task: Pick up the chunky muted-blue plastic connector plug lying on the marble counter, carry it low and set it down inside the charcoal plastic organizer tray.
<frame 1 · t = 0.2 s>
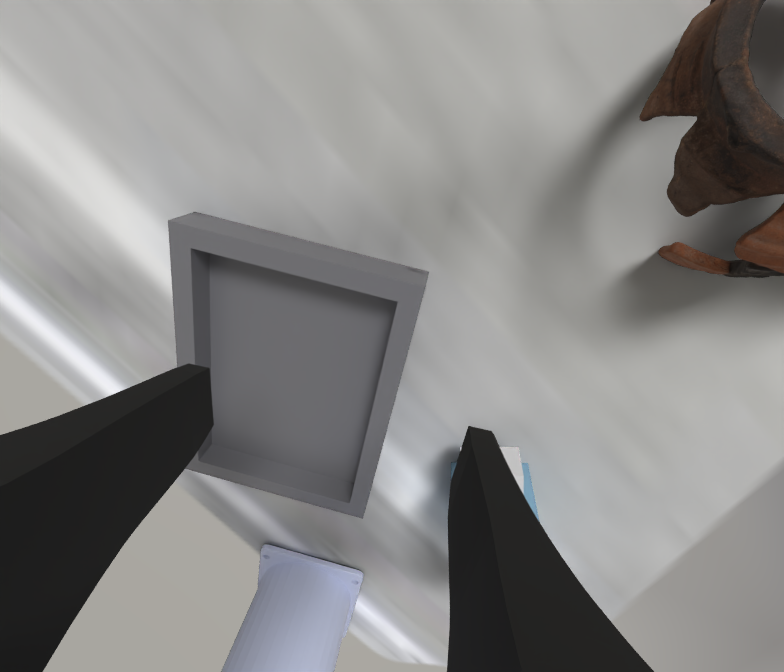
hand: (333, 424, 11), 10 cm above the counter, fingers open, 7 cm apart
connector: (490, 493, 25), on the counter
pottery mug: (775, 142, 15), on the counter
tray: (295, 373, 23), on the counter
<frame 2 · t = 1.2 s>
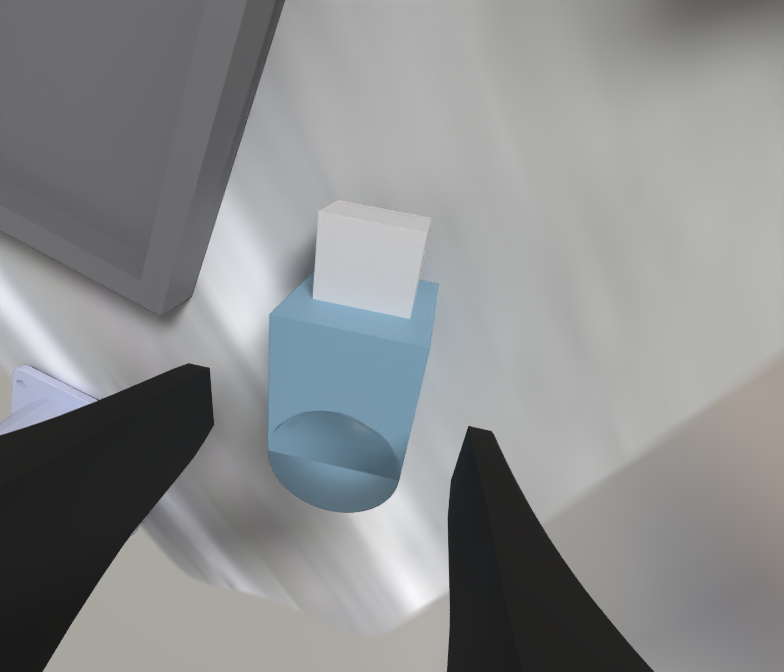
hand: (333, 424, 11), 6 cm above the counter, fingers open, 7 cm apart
connector: (372, 330, 16), on the counter
tray: (83, 6, 13), on the counter
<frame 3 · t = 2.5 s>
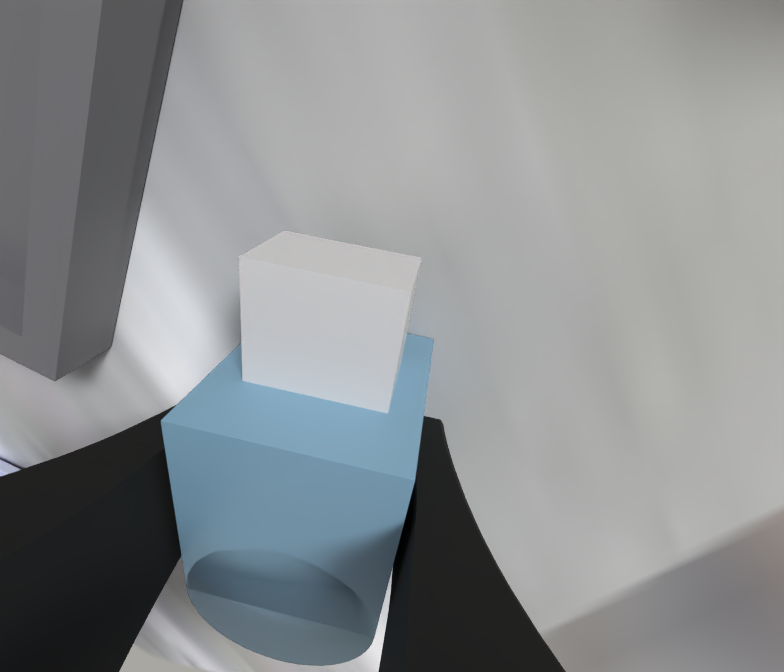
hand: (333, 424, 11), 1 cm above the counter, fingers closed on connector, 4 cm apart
connector: (346, 394, 12), on the counter, touching gripper
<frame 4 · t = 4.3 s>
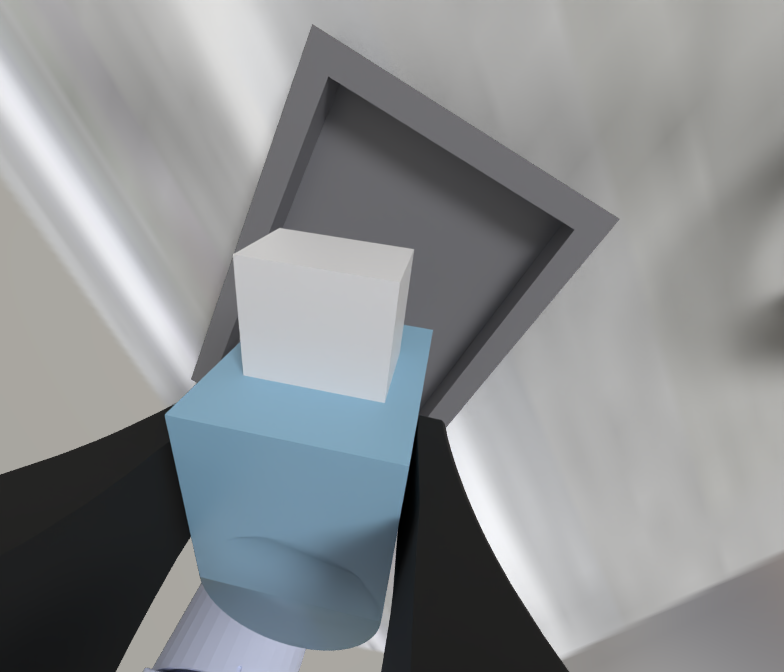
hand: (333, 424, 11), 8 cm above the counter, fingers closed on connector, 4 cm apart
connector: (350, 387, 12), point 7 cm above the counter, touching gripper
tray: (374, 296, 18), on the counter
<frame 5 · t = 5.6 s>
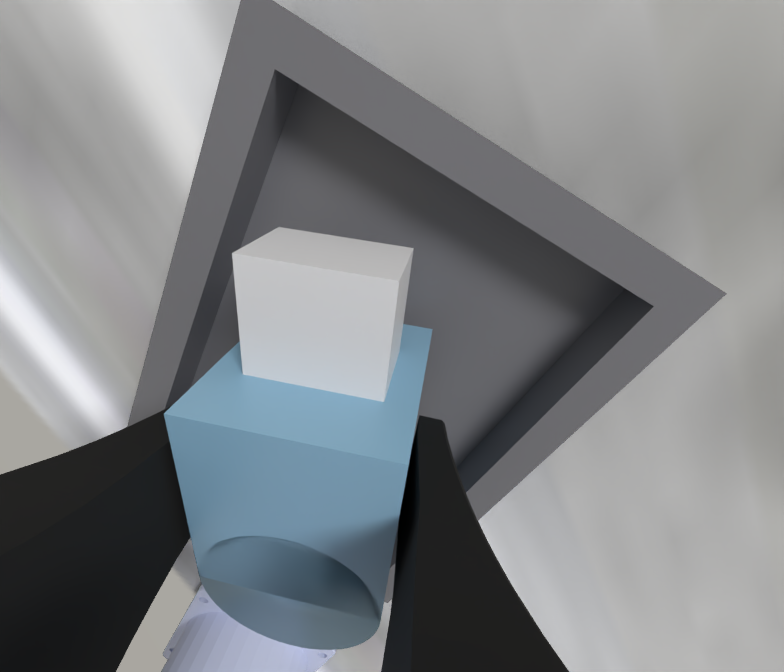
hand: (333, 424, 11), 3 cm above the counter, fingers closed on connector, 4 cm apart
connector: (349, 387, 12), point 1 cm above the counter, touching gripper
tray: (357, 369, 14), on the counter
when the fingers open (3 cm above the counter, at t = 6.3 s): connector stays where it is, resting on tray.
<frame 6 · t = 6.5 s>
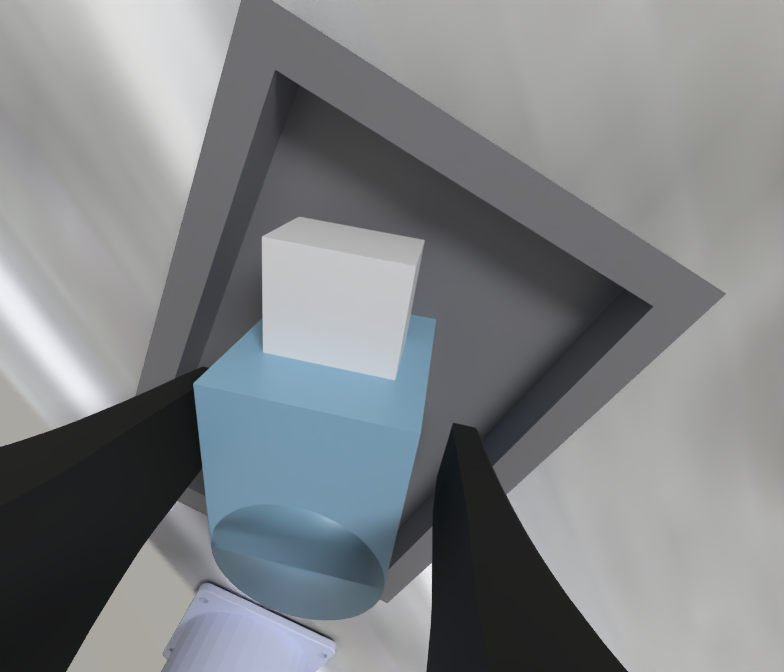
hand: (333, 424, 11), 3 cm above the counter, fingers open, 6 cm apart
connector: (354, 374, 13), resting on tray
tray: (357, 369, 14), on the counter
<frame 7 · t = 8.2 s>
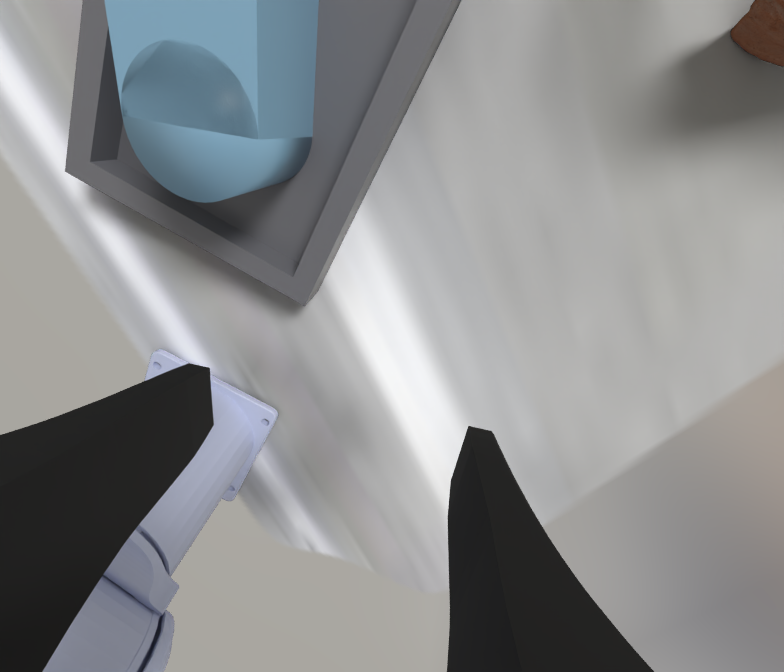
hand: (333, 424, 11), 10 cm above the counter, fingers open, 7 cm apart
connector: (260, 55, 15), resting on tray
tray: (266, 61, 16), on the counter
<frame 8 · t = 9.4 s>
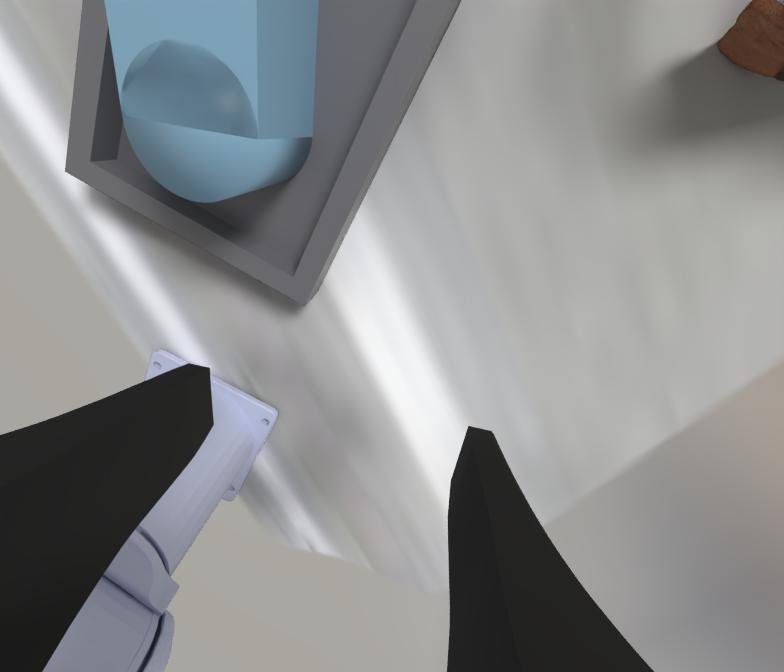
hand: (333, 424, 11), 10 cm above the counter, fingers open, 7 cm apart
connector: (260, 55, 15), resting on tray
tray: (266, 61, 16), on the counter
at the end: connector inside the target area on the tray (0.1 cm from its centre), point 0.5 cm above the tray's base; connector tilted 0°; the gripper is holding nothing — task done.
